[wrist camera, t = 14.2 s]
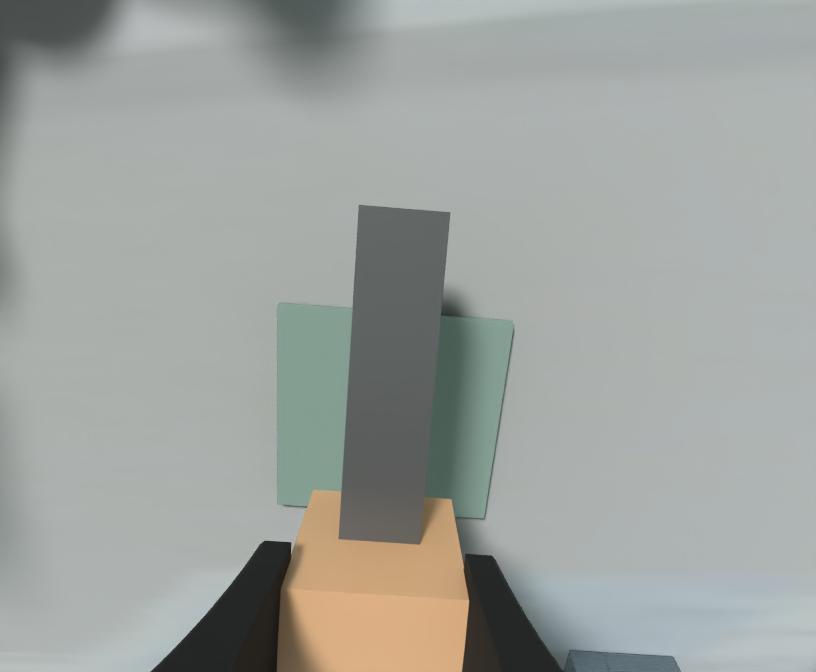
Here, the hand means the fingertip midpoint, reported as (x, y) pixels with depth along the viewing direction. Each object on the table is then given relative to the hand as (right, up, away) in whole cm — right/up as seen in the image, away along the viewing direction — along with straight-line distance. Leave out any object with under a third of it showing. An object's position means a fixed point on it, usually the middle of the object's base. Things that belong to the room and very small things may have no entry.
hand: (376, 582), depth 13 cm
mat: (0, +3, +8) cm, 8 cm away
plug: (0, +3, +3) cm, 4 cm away
